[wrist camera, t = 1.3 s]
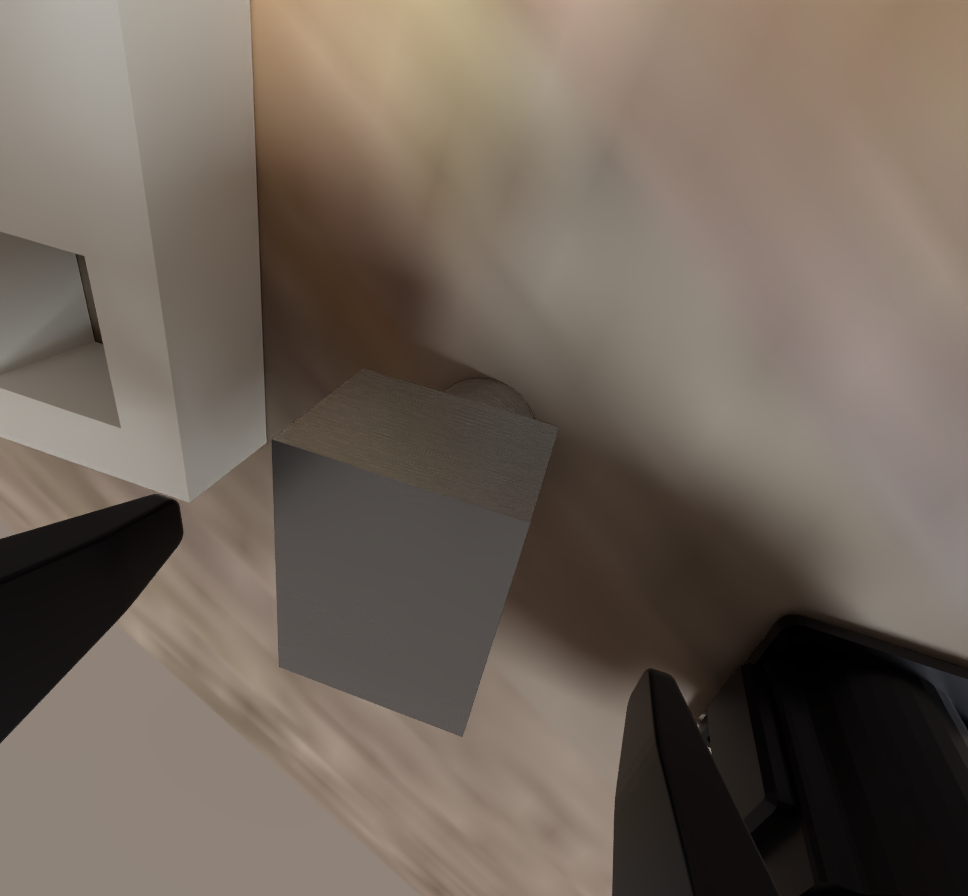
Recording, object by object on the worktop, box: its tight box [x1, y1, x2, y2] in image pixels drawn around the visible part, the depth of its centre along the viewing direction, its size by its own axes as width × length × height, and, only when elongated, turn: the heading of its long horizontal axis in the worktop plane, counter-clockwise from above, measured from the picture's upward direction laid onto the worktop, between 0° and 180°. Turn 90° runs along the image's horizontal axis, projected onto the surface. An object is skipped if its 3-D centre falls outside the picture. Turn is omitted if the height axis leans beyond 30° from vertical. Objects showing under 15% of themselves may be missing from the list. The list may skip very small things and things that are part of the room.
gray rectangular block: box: [272, 368, 559, 737], centre depth 12 cm, size 4×6×7 cm
